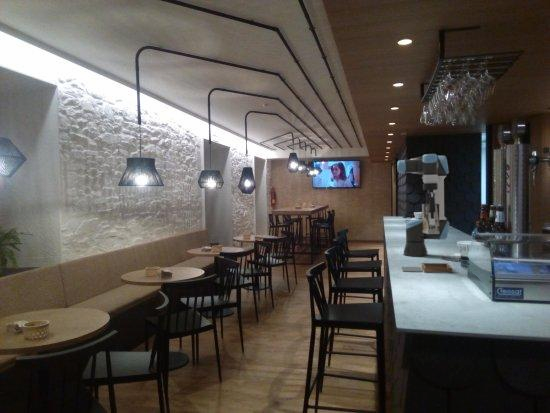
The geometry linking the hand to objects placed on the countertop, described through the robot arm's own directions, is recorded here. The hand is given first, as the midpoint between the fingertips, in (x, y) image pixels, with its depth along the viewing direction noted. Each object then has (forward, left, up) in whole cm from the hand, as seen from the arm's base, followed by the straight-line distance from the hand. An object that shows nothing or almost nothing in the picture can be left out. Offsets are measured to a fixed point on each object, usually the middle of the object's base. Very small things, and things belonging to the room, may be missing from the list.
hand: (430, 223), depth 233 cm
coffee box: (0, 0, -5) cm, 5 cm away
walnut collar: (0, +3, -26) cm, 26 cm away
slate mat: (0, -10, -26) cm, 28 cm away
